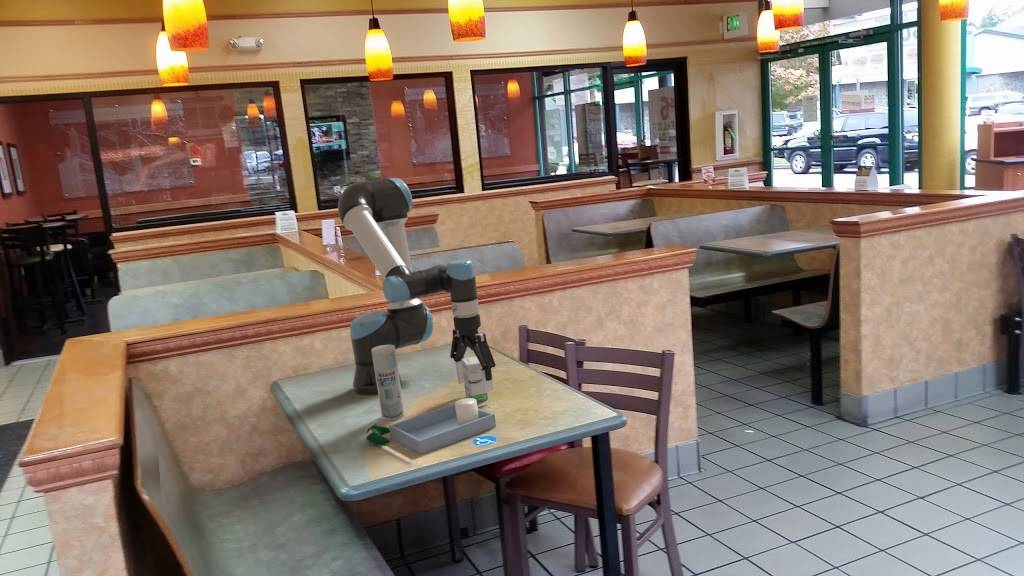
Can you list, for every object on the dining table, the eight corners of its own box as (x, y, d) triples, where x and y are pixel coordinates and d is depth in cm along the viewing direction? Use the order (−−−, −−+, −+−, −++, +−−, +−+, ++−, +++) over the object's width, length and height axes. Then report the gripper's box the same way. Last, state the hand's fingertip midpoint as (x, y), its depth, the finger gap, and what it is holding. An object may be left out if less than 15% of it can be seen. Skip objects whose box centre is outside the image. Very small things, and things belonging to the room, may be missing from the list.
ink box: (489, 402, 216) (484, 362, 214) (472, 405, 215) (467, 365, 213) (481, 393, 224) (476, 355, 222) (465, 396, 223) (460, 358, 221)
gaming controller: (384, 440, 201) (366, 428, 200) (393, 429, 200) (374, 416, 199) (381, 454, 192) (362, 441, 191) (390, 442, 191) (371, 429, 190)
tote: (391, 440, 195) (388, 425, 194) (462, 415, 207) (461, 401, 207) (421, 456, 182) (419, 441, 181) (496, 429, 195) (494, 414, 194)
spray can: (404, 411, 217) (394, 343, 213) (405, 418, 210) (395, 348, 207) (381, 414, 216) (371, 346, 212) (381, 422, 209) (371, 352, 206)
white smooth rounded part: (454, 428, 196) (450, 402, 195) (472, 422, 199) (468, 396, 198) (466, 433, 192) (462, 407, 190) (484, 426, 195) (480, 400, 194)
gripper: (432, 313, 223) (442, 382, 227) (479, 322, 203) (489, 398, 207) (454, 307, 227) (463, 375, 231) (502, 316, 207) (511, 391, 211)
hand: (475, 386), depth 219 cm, fingers open, 13 cm apart
